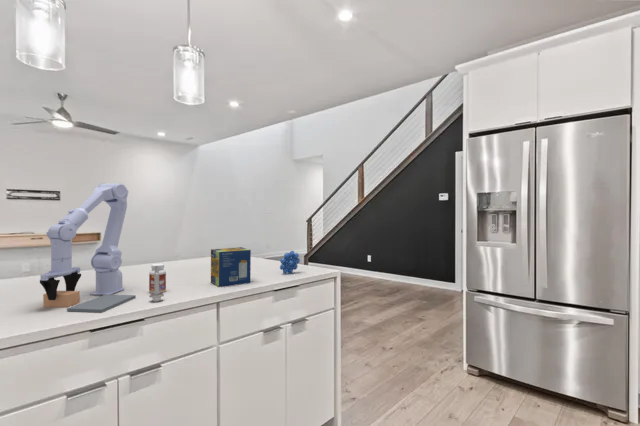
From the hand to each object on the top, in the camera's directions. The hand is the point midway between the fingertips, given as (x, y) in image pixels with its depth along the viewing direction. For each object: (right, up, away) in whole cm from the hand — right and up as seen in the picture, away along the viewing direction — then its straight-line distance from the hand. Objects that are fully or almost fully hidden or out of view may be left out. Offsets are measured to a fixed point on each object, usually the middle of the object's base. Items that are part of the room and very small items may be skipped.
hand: (61, 296), depth 118 cm
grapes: (+74, -3, +60) cm, 96 cm away
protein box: (+50, -3, +37) cm, 62 cm away
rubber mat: (+14, -3, +1) cm, 14 cm away
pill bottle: (+24, -3, +19) cm, 31 cm away
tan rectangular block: (0, -3, 0) cm, 3 cm away
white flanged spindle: (+31, -3, +6) cm, 31 cm away
